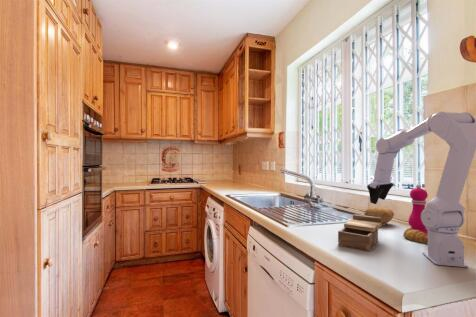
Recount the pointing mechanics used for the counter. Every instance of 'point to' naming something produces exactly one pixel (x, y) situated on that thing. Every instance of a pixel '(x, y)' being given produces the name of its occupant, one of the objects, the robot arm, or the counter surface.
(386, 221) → the potato
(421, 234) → the pastry
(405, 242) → the counter surface
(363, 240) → the keepsake box
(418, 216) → the pepper mill
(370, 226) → the lid
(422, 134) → the robot arm
